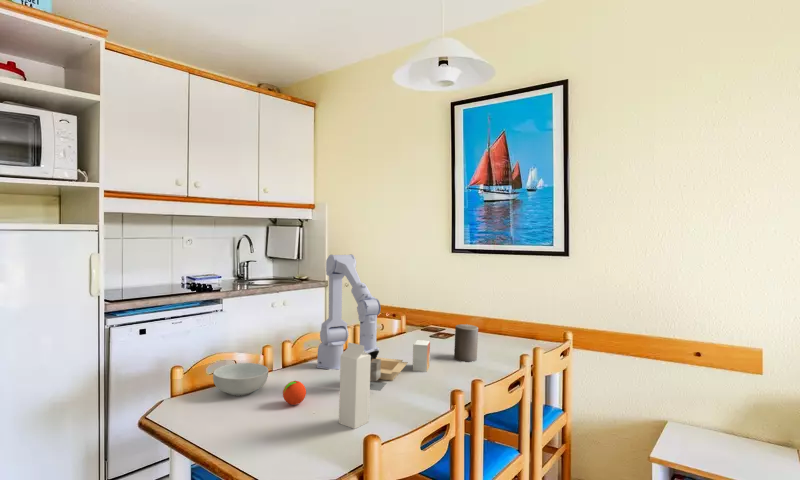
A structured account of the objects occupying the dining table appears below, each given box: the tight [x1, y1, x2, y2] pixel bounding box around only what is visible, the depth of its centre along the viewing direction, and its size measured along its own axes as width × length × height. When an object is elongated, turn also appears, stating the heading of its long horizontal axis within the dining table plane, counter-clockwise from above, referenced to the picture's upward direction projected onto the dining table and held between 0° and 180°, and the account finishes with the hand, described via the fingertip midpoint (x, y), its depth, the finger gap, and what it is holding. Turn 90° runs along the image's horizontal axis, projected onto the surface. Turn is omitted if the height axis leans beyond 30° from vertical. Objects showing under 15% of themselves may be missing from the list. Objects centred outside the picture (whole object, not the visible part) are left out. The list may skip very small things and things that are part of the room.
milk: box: [338, 342, 371, 430], centre depth 130 cm, size 6×6×22 cm
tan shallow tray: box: [376, 356, 408, 381], centre depth 174 cm, size 17×18×4 cm
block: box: [370, 359, 381, 382], centre depth 161 cm, size 8×5×6 cm, turn 76°
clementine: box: [282, 380, 307, 406], centre depth 142 cm, size 8×7×7 cm
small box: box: [412, 339, 431, 373], centre depth 182 cm, size 8×6×10 cm
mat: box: [370, 380, 387, 392], centre depth 161 cm, size 12×8×1 cm, turn 76°
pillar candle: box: [453, 323, 479, 363], centre depth 199 cm, size 10×10×15 cm
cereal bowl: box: [212, 362, 269, 397], centre depth 152 cm, size 17×17×7 cm
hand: (367, 373), depth 161 cm, fingers closed on block, 5 cm apart
